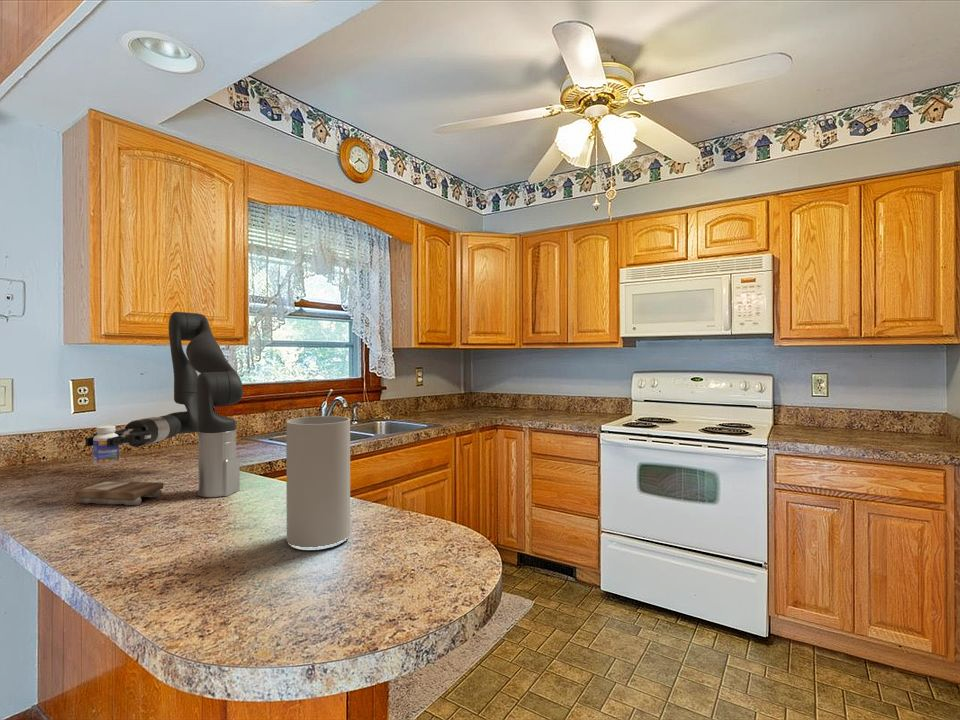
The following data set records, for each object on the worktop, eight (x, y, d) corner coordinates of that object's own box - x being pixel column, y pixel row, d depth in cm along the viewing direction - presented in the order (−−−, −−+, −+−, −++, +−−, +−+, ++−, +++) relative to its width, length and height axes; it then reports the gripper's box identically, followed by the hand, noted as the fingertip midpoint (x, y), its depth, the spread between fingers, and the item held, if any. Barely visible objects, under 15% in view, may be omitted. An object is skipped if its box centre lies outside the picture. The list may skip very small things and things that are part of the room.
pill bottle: (97, 467, 128) (96, 429, 128) (90, 463, 131) (89, 426, 131) (122, 463, 132) (121, 426, 132) (115, 460, 136) (114, 424, 135)
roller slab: (163, 495, 135) (162, 481, 135) (133, 507, 126) (133, 492, 125) (108, 493, 137) (108, 480, 137) (75, 504, 127) (75, 490, 127)
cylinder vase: (286, 533, 108) (286, 417, 107) (346, 526, 112) (346, 415, 112) (286, 556, 96) (286, 425, 96) (353, 547, 100) (353, 422, 100)
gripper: (124, 417, 146) (71, 427, 130) (170, 418, 145) (123, 428, 128) (124, 443, 147) (72, 456, 130) (170, 444, 145) (123, 458, 128)
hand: (97, 442), depth 129 cm, fingers closed on pill bottle, 5 cm apart
